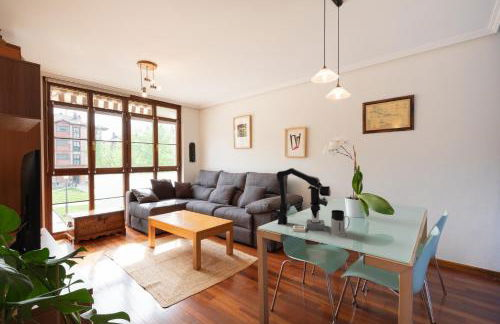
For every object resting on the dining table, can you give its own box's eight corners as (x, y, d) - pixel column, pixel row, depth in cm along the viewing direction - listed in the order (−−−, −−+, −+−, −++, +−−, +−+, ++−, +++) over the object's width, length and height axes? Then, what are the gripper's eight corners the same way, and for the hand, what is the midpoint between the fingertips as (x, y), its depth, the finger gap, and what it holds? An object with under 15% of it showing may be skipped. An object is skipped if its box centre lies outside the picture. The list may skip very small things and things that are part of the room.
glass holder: (338, 231, 156) (338, 209, 156) (355, 238, 143) (354, 213, 142) (327, 233, 153) (327, 210, 153) (343, 240, 140) (343, 215, 139)
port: (306, 229, 161) (306, 223, 161) (306, 224, 173) (306, 218, 173) (325, 230, 159) (324, 223, 158) (323, 225, 170) (323, 219, 170)
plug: (311, 222, 165) (311, 209, 164) (311, 220, 168) (311, 208, 168) (319, 222, 164) (319, 209, 163) (318, 221, 167) (318, 208, 167)
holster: (293, 231, 158) (292, 228, 158) (293, 228, 165) (293, 225, 165) (305, 232, 156) (305, 229, 156) (305, 229, 163) (305, 226, 163)
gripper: (328, 197, 154) (328, 221, 155) (325, 193, 173) (326, 214, 173) (310, 197, 157) (310, 220, 157) (310, 193, 175) (310, 213, 176)
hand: (315, 217), depth 166 cm, fingers closed on plug, 3 cm apart
